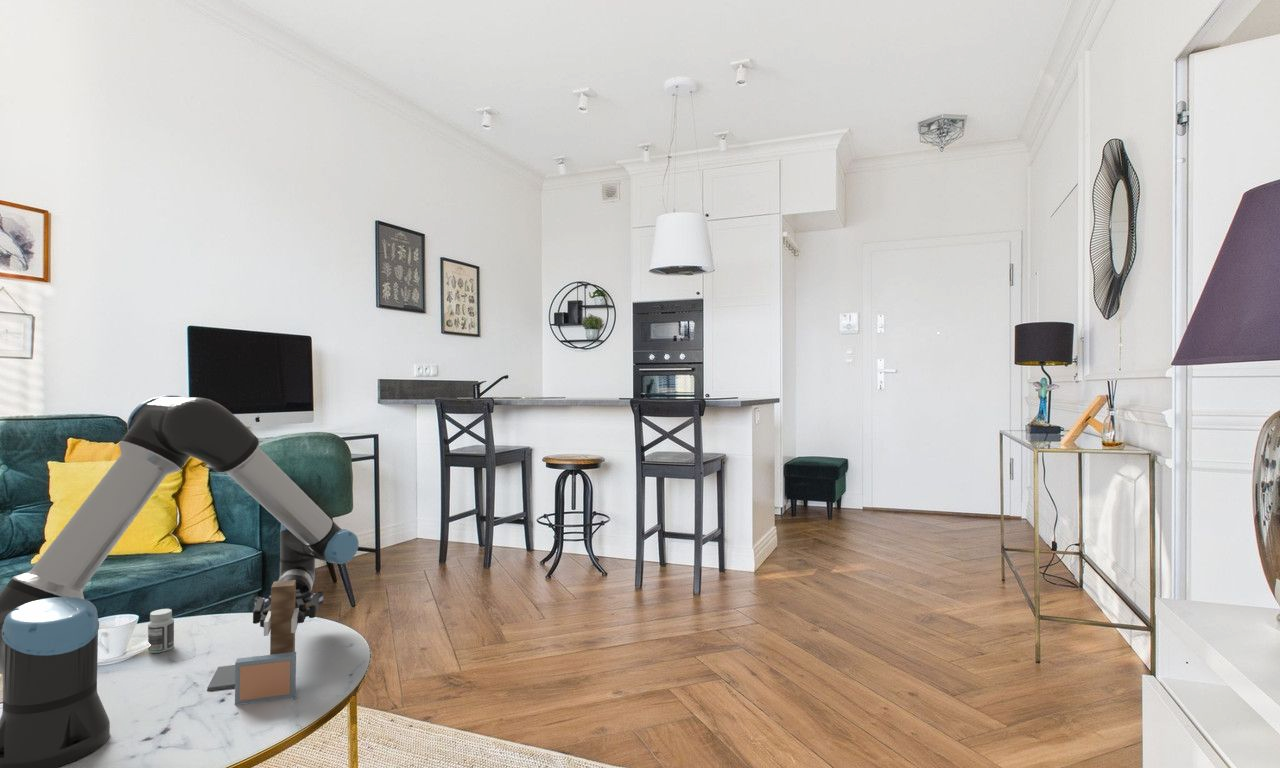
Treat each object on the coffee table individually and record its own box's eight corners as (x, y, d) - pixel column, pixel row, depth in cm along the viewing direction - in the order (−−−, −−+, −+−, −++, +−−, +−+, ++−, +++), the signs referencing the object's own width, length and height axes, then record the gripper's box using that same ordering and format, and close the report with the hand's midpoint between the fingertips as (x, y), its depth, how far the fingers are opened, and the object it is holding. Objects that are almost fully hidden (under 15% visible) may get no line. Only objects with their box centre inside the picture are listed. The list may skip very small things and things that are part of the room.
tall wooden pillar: (270, 662, 133) (271, 587, 133) (272, 654, 136) (273, 581, 136) (292, 660, 134) (293, 585, 134) (294, 652, 138) (295, 579, 138)
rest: (207, 690, 131) (207, 687, 131) (218, 669, 140) (218, 666, 140) (265, 683, 135) (265, 680, 135) (272, 663, 144) (272, 660, 144)
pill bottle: (169, 643, 153) (170, 606, 153) (176, 648, 150) (177, 611, 150) (144, 649, 149) (145, 611, 149) (151, 655, 146) (152, 617, 146)
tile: (234, 705, 125) (235, 663, 125) (236, 700, 127) (237, 658, 127) (294, 697, 129) (294, 656, 129) (295, 692, 131) (296, 651, 131)
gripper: (334, 603, 155) (327, 641, 133) (249, 611, 149) (228, 652, 127) (334, 571, 155) (328, 603, 133) (250, 577, 149) (229, 613, 127)
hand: (279, 627), depth 130 cm, fingers closed on tall wooden pillar, 4 cm apart
